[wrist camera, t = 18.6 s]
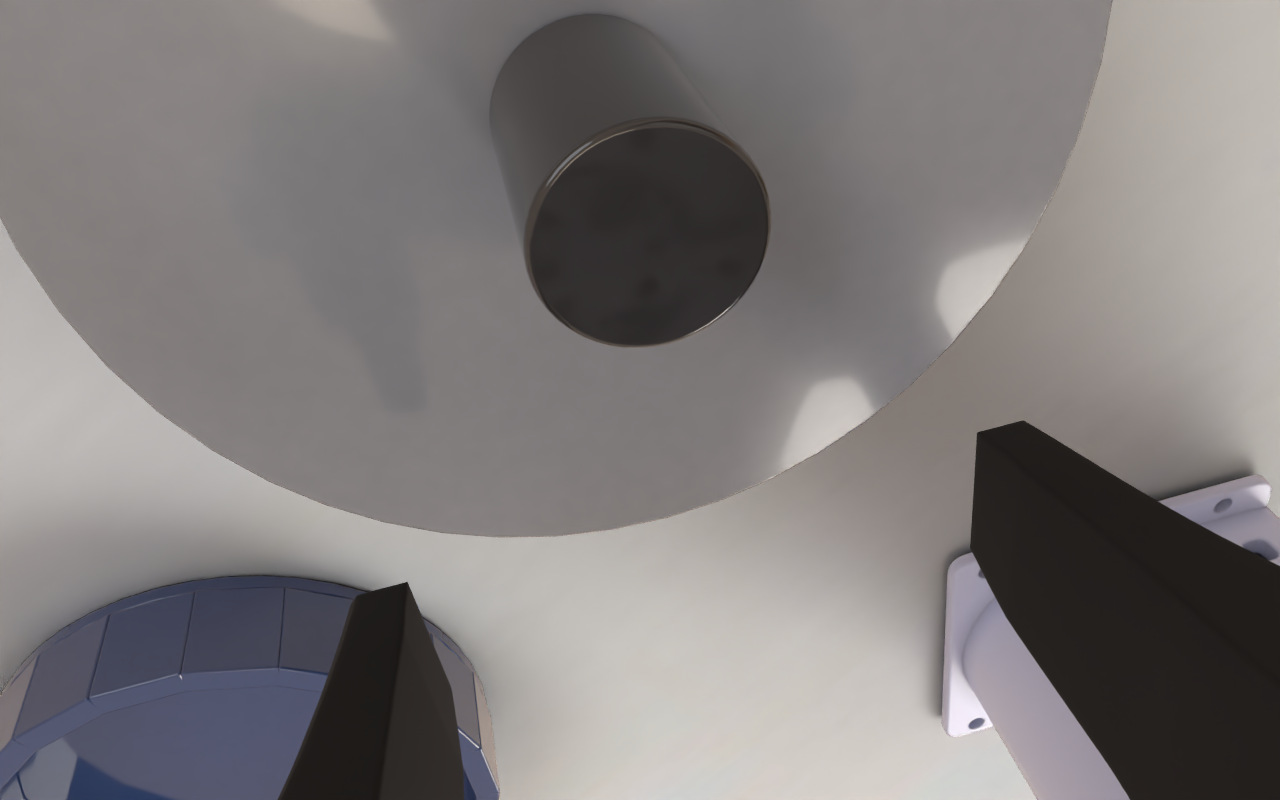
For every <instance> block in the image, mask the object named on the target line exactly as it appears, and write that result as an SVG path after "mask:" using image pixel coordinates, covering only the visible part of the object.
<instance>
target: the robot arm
mask: <svg viewBox="0 0 1280 800" xmlns="http://www.w3.org/2000/svg"><path fill="white" fill-rule="evenodd" d="M1271 489H1272V486H1271V485H1270V483H1269V482H1268V481H1267V480H1266V479H1265V478H1263V477H1262V476H1260V475H1251V476H1247V477H1243V478H1240V479H1236V480H1232V481H1229V482H1225V483H1221V484H1218V485H1214V486H1211V487H1207V488H1203V489H1200V490H1196V491H1193V492H1189V493H1185V494H1182V495H1178V496H1174V497H1171V498H1167V499H1164V500H1160V501H1157V500H1155V499H1153V498H1151V497H1150V496H1148V495H1146V494H1144V493H1143V492H1141V491H1139V490H1138V489H1136V488H1134V487H1133V486H1131V485H1129V484H1128V483H1126V482H1124V481H1122V480H1121V479H1119V478H1118V477H1116V476H1114V475H1113V474H1111V473H1109V472H1108V471H1106V470H1104V469H1103V468H1101V467H1099V466H1098V465H1096V464H1094V463H1093V462H1091V461H1089V460H1088V459H1086V458H1085V457H1083V456H1081V455H1080V454H1078V453H1076V452H1075V451H1073V450H1072V449H1070V448H1068V447H1067V446H1065V445H1063V444H1062V443H1060V442H1059V441H1057V440H1055V439H1054V438H1052V437H1050V436H1049V435H1047V434H1045V433H1044V432H1042V431H1040V430H1039V429H1037V428H1035V427H1034V426H1032V425H1030V424H1029V423H1027V422H1025V421H1019V422H1016V423H1012V424H1008V425H1004V426H1000V427H997V428H993V429H989V430H985V431H981V432H977V445H976V461H975V478H974V494H973V511H972V527H971V544H970V549H971V551H972V553H968V554H965V555H962V556H960V557H958V558H957V559H955V560H954V561H953V562H952V563H951V565H950V566H949V569H948V573H947V598H946V623H945V648H944V673H943V698H942V726H943V728H944V730H945V732H946V734H947V735H949V736H951V737H959V736H963V735H967V734H970V733H974V732H977V731H981V730H984V729H987V728H991V727H995V729H996V731H997V732H998V734H999V736H1000V738H1001V739H1002V741H1003V743H1004V744H1005V746H1006V748H1007V749H1008V751H1009V753H1010V755H1011V756H1012V758H1013V760H1014V761H1015V763H1016V765H1017V766H1018V768H1019V770H1020V772H1021V773H1022V775H1023V777H1024V778H1025V780H1026V782H1027V784H1028V785H1029V787H1030V789H1031V790H1032V792H1033V794H1034V795H1035V797H1036V799H1037V800H1280V519H1279V518H1278V517H1277V516H1276V515H1275V514H1274V513H1273V512H1272V511H1271V510H1270V509H1269V508H1267V504H1268V501H1269V498H1270V494H1271ZM278 800H464V778H463V763H462V756H461V748H460V741H459V734H458V727H457V720H456V713H455V706H454V700H453V693H452V688H451V686H450V683H449V681H448V678H447V676H446V674H445V671H444V669H443V666H442V664H441V662H440V659H439V657H438V654H437V652H436V650H435V647H434V645H433V642H432V640H431V638H430V635H429V633H428V630H427V628H426V626H425V623H424V621H423V618H422V616H421V614H420V611H419V609H418V606H417V604H416V602H415V599H414V597H413V594H412V592H411V590H410V587H409V585H408V582H406V583H402V584H398V585H394V586H390V587H387V588H383V589H379V590H375V591H371V592H368V593H364V594H360V595H357V596H356V597H355V599H354V600H353V602H352V603H351V605H350V608H349V611H348V615H347V618H346V622H345V625H344V628H343V632H342V635H341V638H340V641H339V644H338V647H337V650H336V653H335V656H334V659H333V662H332V665H331V668H330V671H329V674H328V677H327V679H326V682H325V685H324V688H323V691H322V693H321V696H320V699H319V702H318V704H317V707H316V709H315V712H314V714H313V717H312V719H311V722H310V724H309V727H308V729H307V732H306V735H305V737H304V740H303V742H302V745H301V747H300V750H299V752H298V755H297V757H296V759H295V762H294V764H293V767H292V769H291V771H290V773H289V776H288V778H287V780H286V782H285V784H284V787H283V789H282V791H281V793H280V795H279V797H278Z"/></svg>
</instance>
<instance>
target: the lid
mask: <svg viewBox="0 0 1280 800" xmlns="http://www.w3.org/2000/svg"><path fill="white" fill-rule="evenodd" d="M1111 6H1112V0H0V218H1V220H2V222H3V224H4V226H5V228H6V230H7V232H8V234H9V236H10V238H11V240H12V242H13V244H14V245H15V247H16V249H17V251H18V252H19V254H20V255H21V257H22V258H23V260H24V261H25V262H26V264H27V265H28V267H29V268H30V270H31V271H32V273H33V274H34V276H35V277H36V279H37V280H38V282H39V283H40V285H41V286H42V287H43V289H44V290H45V292H46V293H47V295H48V296H49V298H50V299H51V301H52V302H53V304H54V305H55V307H56V308H57V310H58V311H59V312H60V313H61V315H62V316H63V317H64V318H65V319H66V320H67V321H68V323H69V324H70V325H71V326H72V327H73V328H74V329H75V331H76V332H77V333H78V334H79V335H80V336H81V337H82V338H83V340H84V341H85V342H86V343H87V344H88V345H89V346H90V348H91V349H92V350H93V351H94V352H95V353H96V354H97V356H98V357H99V358H100V359H101V360H102V361H103V362H104V364H105V365H106V366H107V367H108V368H109V369H111V370H112V371H113V372H114V373H115V374H116V375H117V376H118V377H119V378H121V379H122V380H123V381H124V382H125V383H126V384H127V385H128V386H130V387H131V388H132V389H133V390H134V391H135V392H136V393H137V394H138V395H140V396H141V397H142V398H143V399H144V400H145V401H146V402H147V403H149V404H150V405H151V406H152V407H153V408H154V409H155V410H156V411H157V412H159V413H160V414H161V415H163V416H164V417H166V418H167V419H169V420H170V421H171V422H173V423H174V424H176V425H177V426H178V427H180V428H181V429H183V430H184V431H186V432H187V433H188V434H190V435H191V436H193V437H194V438H196V439H197V440H198V441H200V442H201V443H203V444H204V445H205V446H207V447H208V448H210V449H211V450H213V451H214V452H216V453H218V454H220V455H222V456H223V457H225V458H227V459H229V460H231V461H232V462H234V463H236V464H238V465H240V466H242V467H243V468H245V469H247V470H249V471H251V472H253V473H254V474H256V475H258V476H260V477H262V478H264V479H265V480H267V481H269V482H271V483H274V484H276V485H279V486H281V487H283V488H286V489H288V490H291V491H293V492H296V493H298V494H300V495H303V496H305V497H308V498H310V499H312V500H315V501H317V502H320V503H322V504H325V505H327V506H331V507H334V508H337V509H341V510H344V511H348V512H351V513H354V514H358V515H361V516H365V517H368V518H372V519H375V520H378V521H382V522H386V523H391V524H397V525H402V526H407V527H413V528H418V529H424V530H429V531H435V532H440V533H450V534H463V535H475V536H488V537H547V536H563V535H572V534H580V533H589V532H597V531H606V530H613V529H618V528H622V527H627V526H631V525H636V524H641V523H645V522H650V521H654V520H659V519H664V518H668V517H671V516H674V515H677V514H680V513H683V512H686V511H690V510H693V509H696V508H699V507H702V506H705V505H708V504H711V503H715V502H718V501H720V500H723V499H725V498H727V497H730V496H732V495H734V494H737V493H739V492H741V491H744V490H746V489H748V488H751V487H753V486H756V485H758V484H760V483H763V482H765V481H767V480H770V479H772V478H773V477H775V476H777V475H779V474H781V473H783V472H784V471H786V470H788V469H790V468H792V467H794V466H796V465H797V464H799V463H801V462H803V461H805V460H807V459H808V458H810V457H812V456H814V455H816V454H818V453H819V452H821V451H822V450H824V449H825V448H827V447H828V446H830V445H831V444H833V443H834V442H836V441H837V440H839V439H840V438H842V437H843V436H845V435H846V434H848V433H849V432H851V431H852V430H854V429H855V428H857V427H858V426H860V425H861V424H863V423H864V422H866V421H867V420H868V419H869V418H871V417H872V416H873V415H874V414H876V413H877V412H878V411H879V410H880V409H882V408H883V407H884V406H885V405H887V404H888V403H889V402H890V401H891V400H893V399H894V398H895V397H896V396H898V395H899V394H900V393H901V392H902V391H904V390H905V389H906V388H907V387H909V386H910V385H911V384H912V383H913V382H914V381H915V380H916V379H917V378H918V377H919V376H920V375H921V374H922V373H923V372H924V371H925V370H926V369H927V368H928V367H929V366H930V365H931V364H932V363H933V362H934V361H935V360H936V359H937V358H938V357H939V356H940V355H941V354H942V353H943V352H944V351H945V350H946V349H947V348H948V347H949V346H950V345H951V344H952V343H953V342H954V341H955V340H956V339H957V338H958V336H959V335H960V334H961V333H962V332H963V330H964V329H965V328H966V327H967V325H968V324H969V323H970V322H971V321H972V319H973V318H974V317H975V316H976V315H977V313H978V312H979V311H980V310H981V309H982V307H983V306H984V305H985V304H986V303H987V301H988V300H989V299H990V298H991V297H992V295H993V294H994V292H995V291H996V289H997V288H998V286H999V285H1000V283H1001V282H1002V280H1003V279H1004V277H1005V276H1006V275H1007V273H1008V272H1009V270H1010V269H1011V267H1012V266H1013V264H1014V263H1015V261H1016V260H1017V258H1018V257H1019V255H1020V254H1021V252H1022V251H1023V249H1024V248H1025V246H1026V245H1027V243H1028V241H1029V239H1030V238H1031V236H1032V234H1033V232H1034V230H1035V228H1036V226H1037V225H1038V223H1039V221H1040V219H1041V217H1042V215H1043V213H1044V212H1045V210H1046V208H1047V206H1048V204H1049V202H1050V201H1051V199H1052V197H1053V195H1054V193H1055V191H1056V189H1057V187H1058V185H1059V182H1060V180H1061V178H1062V175H1063V173H1064V170H1065V168H1066V165H1067V163H1068V161H1069V158H1070V156H1071V153H1072V151H1073V149H1074V146H1075V144H1076V141H1077V139H1078V136H1079V134H1080V132H1081V129H1082V126H1083V123H1084V120H1085V116H1086V113H1087V109H1088V106H1089V103H1090V99H1091V96H1092V93H1093V89H1094V86H1095V82H1096V79H1097V76H1098V72H1099V69H1100V65H1101V62H1102V56H1103V51H1104V45H1105V40H1106V34H1107V28H1108V23H1109V17H1110V12H1111Z"/></svg>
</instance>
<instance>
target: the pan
mask: <svg viewBox="0 0 1280 800" xmlns="http://www.w3.org/2000/svg"><path fill="white" fill-rule="evenodd" d="M364 593H368V592H365V591H361V590H357V589H353V588H350V587H346V586H342V585H338V584H334V583H328V582H322V581H315V580H309V579H303V578H291V577H275V576H239V577H222V578H213V579H205V580H196V581H189V582H185V583H180V584H175V585H170V586H166V587H161V588H156V589H153V590H150V591H146V592H143V593H140V594H137V595H134V596H131V597H127V598H124V599H121V600H119V601H117V602H114V603H112V604H110V605H107V606H105V607H103V608H100V609H98V610H96V611H93V612H91V613H89V614H87V615H86V616H84V617H82V618H81V619H79V620H77V621H75V622H74V623H72V624H70V625H68V626H67V627H65V628H63V629H62V630H60V631H59V632H58V633H56V634H55V635H54V636H52V637H51V638H50V639H49V640H47V641H46V642H45V643H43V644H42V645H41V646H39V647H38V648H37V649H36V650H35V651H34V652H33V653H32V654H31V655H30V656H29V657H28V658H27V659H26V660H25V661H24V662H23V663H22V665H21V666H20V667H19V668H18V669H17V670H16V672H15V673H14V675H13V676H12V678H11V679H10V681H9V682H8V684H7V685H6V686H5V688H4V690H3V692H2V694H1V697H0V800H278V797H279V795H280V793H281V791H282V789H283V787H284V784H285V782H286V780H287V778H288V776H289V773H290V771H291V769H292V767H293V764H294V762H295V759H296V757H297V755H298V752H299V750H300V747H301V745H302V742H303V740H304V737H305V735H306V732H307V729H308V727H309V724H310V722H311V719H312V717H313V714H314V712H315V709H316V707H317V704H318V702H319V699H320V696H321V693H322V691H323V688H324V685H325V682H326V679H327V677H328V674H329V671H330V668H331V665H332V662H333V659H334V656H335V653H336V650H337V647H338V644H339V641H340V638H341V635H342V632H343V628H344V625H345V622H346V618H347V615H348V611H349V608H350V605H351V603H352V602H353V600H354V599H355V597H356V596H357V595H360V594H364ZM423 621H424V623H425V626H426V628H427V630H428V633H429V635H430V638H431V640H432V642H433V645H434V647H435V650H436V652H437V654H438V657H439V659H440V662H441V664H442V666H443V669H444V671H445V674H446V676H447V678H448V681H449V683H450V686H451V688H452V693H453V700H454V706H455V713H456V720H457V727H458V734H459V741H460V748H461V756H462V763H463V778H464V800H499V796H500V788H499V780H498V772H497V764H496V755H495V747H494V739H493V731H492V722H491V715H490V712H489V710H488V707H487V703H486V698H485V695H484V691H483V688H482V684H481V681H480V679H479V677H478V676H477V674H476V672H475V670H474V668H473V666H472V664H471V663H470V661H469V660H468V659H467V657H466V656H465V655H464V654H463V652H462V651H461V650H460V648H459V647H458V646H457V645H456V644H455V643H454V642H453V641H452V640H451V639H450V638H448V637H447V636H446V635H445V634H444V633H443V632H442V631H441V630H440V629H438V628H437V627H435V626H434V625H432V624H431V623H430V622H428V621H427V620H425V619H424V618H423Z"/></svg>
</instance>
